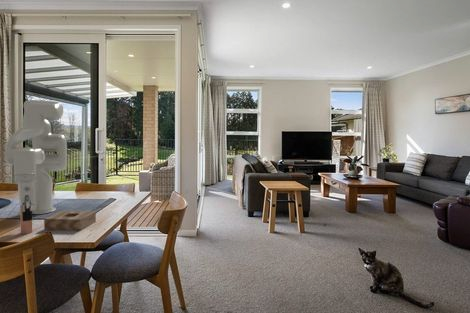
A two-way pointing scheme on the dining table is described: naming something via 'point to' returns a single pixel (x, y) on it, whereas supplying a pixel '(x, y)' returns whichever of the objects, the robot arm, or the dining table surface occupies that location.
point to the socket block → (70, 220)
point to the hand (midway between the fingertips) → (26, 218)
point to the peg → (25, 223)
